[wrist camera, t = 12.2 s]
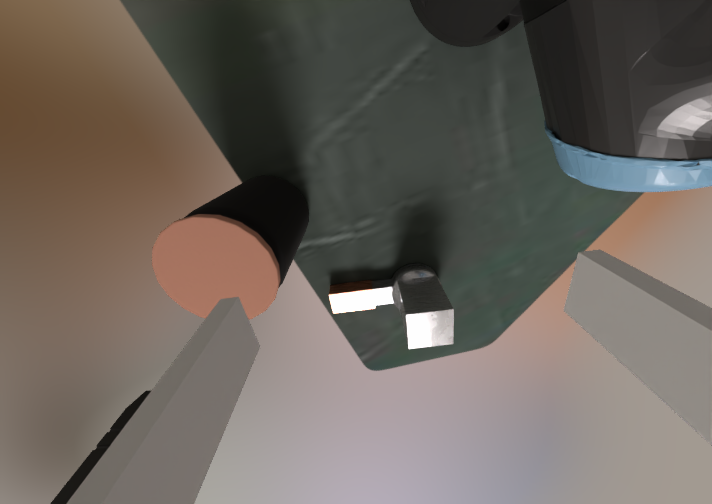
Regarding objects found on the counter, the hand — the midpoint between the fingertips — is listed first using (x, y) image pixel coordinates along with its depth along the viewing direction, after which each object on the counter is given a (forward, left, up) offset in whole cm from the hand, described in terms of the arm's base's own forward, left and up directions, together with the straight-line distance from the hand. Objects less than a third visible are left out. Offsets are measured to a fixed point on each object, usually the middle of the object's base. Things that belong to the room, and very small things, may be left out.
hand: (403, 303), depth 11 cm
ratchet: (+17, +10, -29) cm, 34 cm away
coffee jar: (+10, -11, -29) cm, 32 cm away
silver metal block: (+14, +14, -26) cm, 32 cm away
